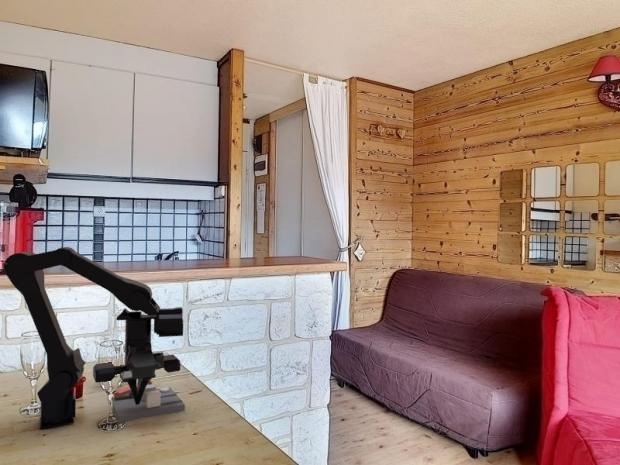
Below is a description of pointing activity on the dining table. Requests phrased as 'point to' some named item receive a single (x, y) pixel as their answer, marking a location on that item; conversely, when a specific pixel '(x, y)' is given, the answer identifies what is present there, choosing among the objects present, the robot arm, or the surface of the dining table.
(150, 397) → the front slider
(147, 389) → the middle slider
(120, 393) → the rocker
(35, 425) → the dining table surface
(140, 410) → the panel
